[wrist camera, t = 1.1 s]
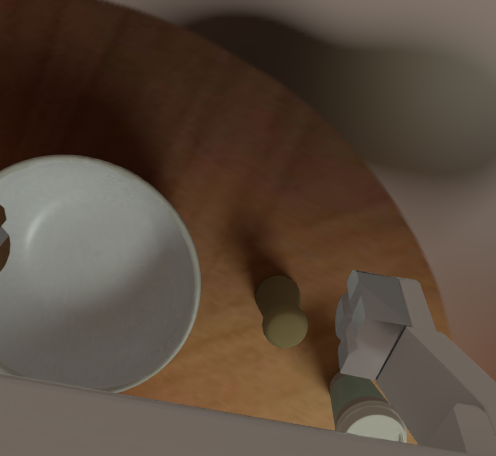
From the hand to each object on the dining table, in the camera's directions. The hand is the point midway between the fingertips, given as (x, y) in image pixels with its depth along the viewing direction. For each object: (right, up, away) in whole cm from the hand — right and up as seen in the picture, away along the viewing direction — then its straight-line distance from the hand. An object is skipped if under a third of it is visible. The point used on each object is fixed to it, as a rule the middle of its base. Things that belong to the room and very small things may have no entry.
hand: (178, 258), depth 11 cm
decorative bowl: (-17, -3, +49) cm, 52 cm away
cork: (+6, -9, +51) cm, 52 cm away
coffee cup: (+16, -22, +54) cm, 61 cm away
